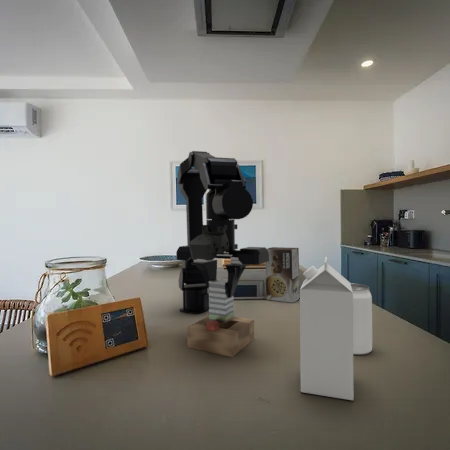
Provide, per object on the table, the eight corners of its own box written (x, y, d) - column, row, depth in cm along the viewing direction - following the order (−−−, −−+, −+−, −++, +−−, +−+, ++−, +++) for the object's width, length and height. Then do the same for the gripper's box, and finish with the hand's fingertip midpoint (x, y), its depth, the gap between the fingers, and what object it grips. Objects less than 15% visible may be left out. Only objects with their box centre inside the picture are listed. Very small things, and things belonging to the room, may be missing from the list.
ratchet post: (209, 320, 63) (208, 281, 63) (218, 315, 66) (217, 278, 66) (225, 323, 61) (224, 282, 61) (234, 318, 64) (233, 279, 64)
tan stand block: (187, 347, 62) (187, 320, 62) (213, 331, 71) (213, 308, 70) (232, 357, 57) (232, 328, 57) (254, 338, 66) (254, 314, 66)
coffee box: (300, 298, 98) (299, 247, 98) (293, 303, 93) (292, 249, 93) (273, 295, 103) (272, 246, 103) (265, 299, 98) (264, 248, 97)
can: (376, 357, 56) (375, 290, 56) (338, 354, 58) (338, 289, 57) (367, 343, 63) (367, 283, 62) (333, 340, 64) (333, 282, 64)
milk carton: (350, 377, 49) (350, 257, 49) (353, 402, 43) (352, 263, 42) (304, 370, 52) (303, 255, 51) (300, 393, 45) (299, 261, 45)
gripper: (158, 220, 61) (159, 300, 61) (245, 219, 52) (246, 313, 52) (191, 220, 71) (192, 289, 71) (269, 219, 62) (270, 297, 62)
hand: (221, 296), depth 64 cm, fingers closed on ratchet post, 4 cm apart
